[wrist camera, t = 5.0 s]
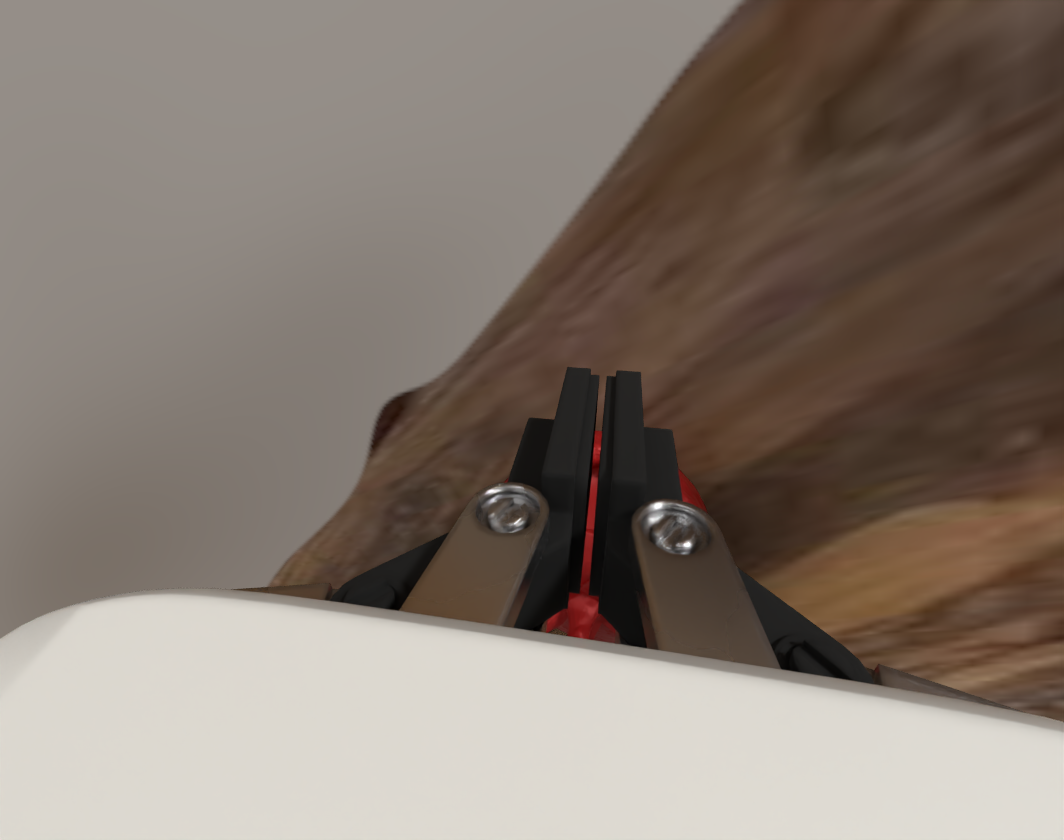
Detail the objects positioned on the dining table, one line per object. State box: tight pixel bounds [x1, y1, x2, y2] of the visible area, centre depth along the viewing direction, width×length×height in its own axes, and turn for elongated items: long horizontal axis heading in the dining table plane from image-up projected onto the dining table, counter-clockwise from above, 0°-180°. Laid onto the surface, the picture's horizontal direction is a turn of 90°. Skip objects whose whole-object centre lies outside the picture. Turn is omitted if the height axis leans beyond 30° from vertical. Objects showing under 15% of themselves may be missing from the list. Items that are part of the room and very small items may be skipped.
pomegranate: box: [504, 431, 707, 643], centre depth 20 cm, size 10×10×9 cm
